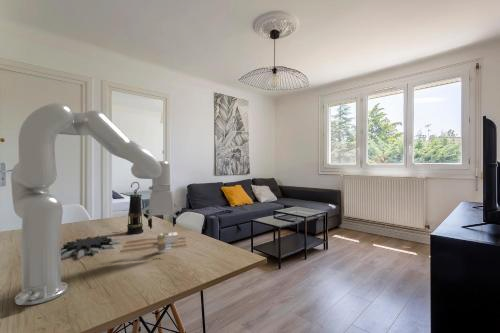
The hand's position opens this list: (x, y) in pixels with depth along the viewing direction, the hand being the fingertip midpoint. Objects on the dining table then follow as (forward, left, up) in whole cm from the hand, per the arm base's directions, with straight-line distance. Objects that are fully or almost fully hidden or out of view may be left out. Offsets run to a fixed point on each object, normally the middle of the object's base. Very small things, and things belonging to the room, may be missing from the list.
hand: (162, 226), depth 113 cm
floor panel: (+14, +4, -12) cm, 19 cm away
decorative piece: (+19, +34, -13) cm, 41 cm away
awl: (0, 0, -12) cm, 12 cm away
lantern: (+44, +17, -13) cm, 49 cm away
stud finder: (+14, -2, -11) cm, 18 cm away
